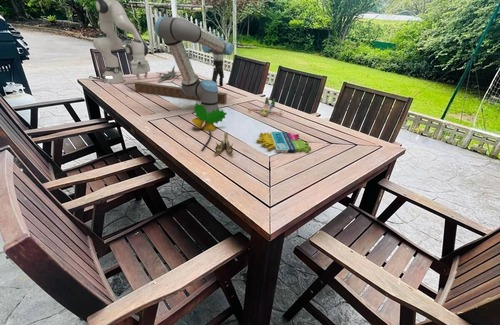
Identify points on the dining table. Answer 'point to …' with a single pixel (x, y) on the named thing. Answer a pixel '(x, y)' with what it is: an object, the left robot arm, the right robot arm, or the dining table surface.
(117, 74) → the left robot arm
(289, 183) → the dining table surface
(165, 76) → the airplane
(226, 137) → the jawbone
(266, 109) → the toy
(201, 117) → the ornament
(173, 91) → the bar
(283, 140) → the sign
